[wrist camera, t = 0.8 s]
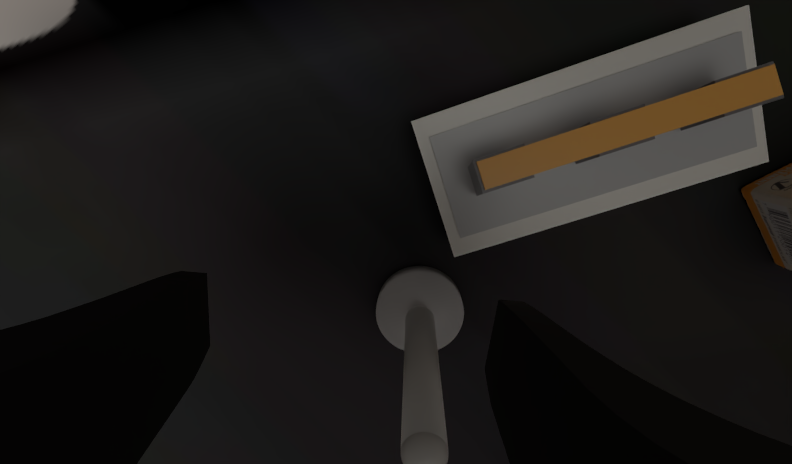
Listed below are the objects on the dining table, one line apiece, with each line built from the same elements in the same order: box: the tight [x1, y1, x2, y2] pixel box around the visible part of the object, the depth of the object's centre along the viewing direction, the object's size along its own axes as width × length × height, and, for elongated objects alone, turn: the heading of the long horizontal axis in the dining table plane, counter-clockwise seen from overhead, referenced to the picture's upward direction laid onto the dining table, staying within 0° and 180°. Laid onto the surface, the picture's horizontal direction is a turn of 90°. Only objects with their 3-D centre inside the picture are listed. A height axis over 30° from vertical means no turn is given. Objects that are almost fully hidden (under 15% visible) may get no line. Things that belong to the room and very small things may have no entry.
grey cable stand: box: [376, 266, 464, 464], centre depth 17 cm, size 4×4×11 cm
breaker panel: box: [411, 5, 769, 257], centre depth 19 cm, size 6×13×3 cm, turn 109°
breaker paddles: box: [468, 61, 784, 196], centre depth 15 cm, size 1×10×3 cm, turn 109°
